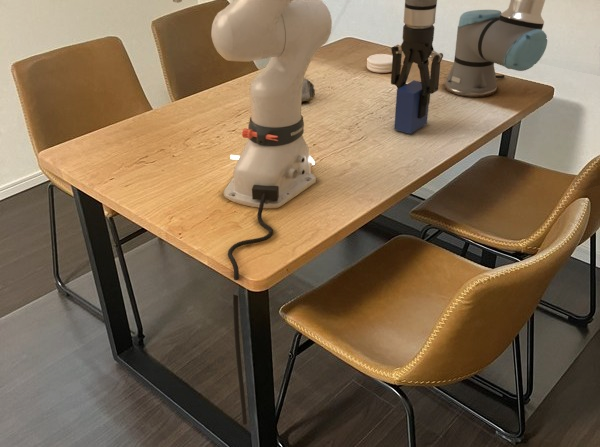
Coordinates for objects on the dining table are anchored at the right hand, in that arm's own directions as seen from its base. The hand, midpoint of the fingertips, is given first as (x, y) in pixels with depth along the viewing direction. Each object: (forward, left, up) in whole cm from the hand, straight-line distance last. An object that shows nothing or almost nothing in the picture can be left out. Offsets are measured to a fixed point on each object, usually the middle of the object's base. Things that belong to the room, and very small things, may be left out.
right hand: (411, 113), depth 163 cm
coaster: (-37, -32, -4) cm, 49 cm away
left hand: (+34, -53, +29) cm, 69 cm away
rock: (+1, -40, -4) cm, 41 cm away
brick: (0, 0, -4) cm, 4 cm away
